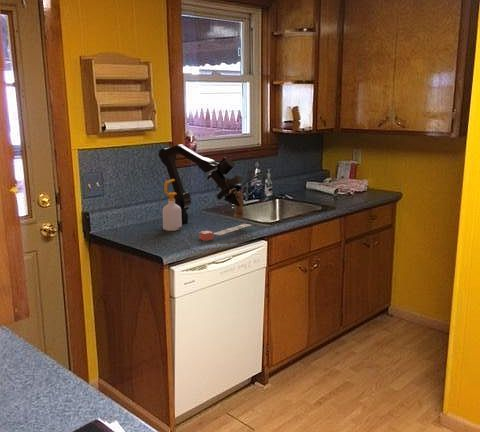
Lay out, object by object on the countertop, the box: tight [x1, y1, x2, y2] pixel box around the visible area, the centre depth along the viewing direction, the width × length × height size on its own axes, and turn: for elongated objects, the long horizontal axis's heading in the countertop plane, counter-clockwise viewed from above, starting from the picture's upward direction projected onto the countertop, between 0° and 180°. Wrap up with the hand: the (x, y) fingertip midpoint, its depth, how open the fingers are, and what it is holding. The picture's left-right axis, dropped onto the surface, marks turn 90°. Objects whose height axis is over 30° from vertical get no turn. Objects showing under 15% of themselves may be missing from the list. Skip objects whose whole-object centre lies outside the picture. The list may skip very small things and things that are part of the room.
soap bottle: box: [162, 179, 183, 232], centre depth 254 cm, size 9×9×25 cm
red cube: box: [198, 230, 214, 242], centre depth 233 cm, size 4×4×4 cm
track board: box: [213, 223, 251, 236], centre depth 251 cm, size 26×11×1 cm, turn 143°
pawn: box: [233, 191, 244, 219], centre depth 252 cm, size 4×4×12 cm
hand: (241, 205), depth 252 cm, fingers closed on pawn, 4 cm apart
